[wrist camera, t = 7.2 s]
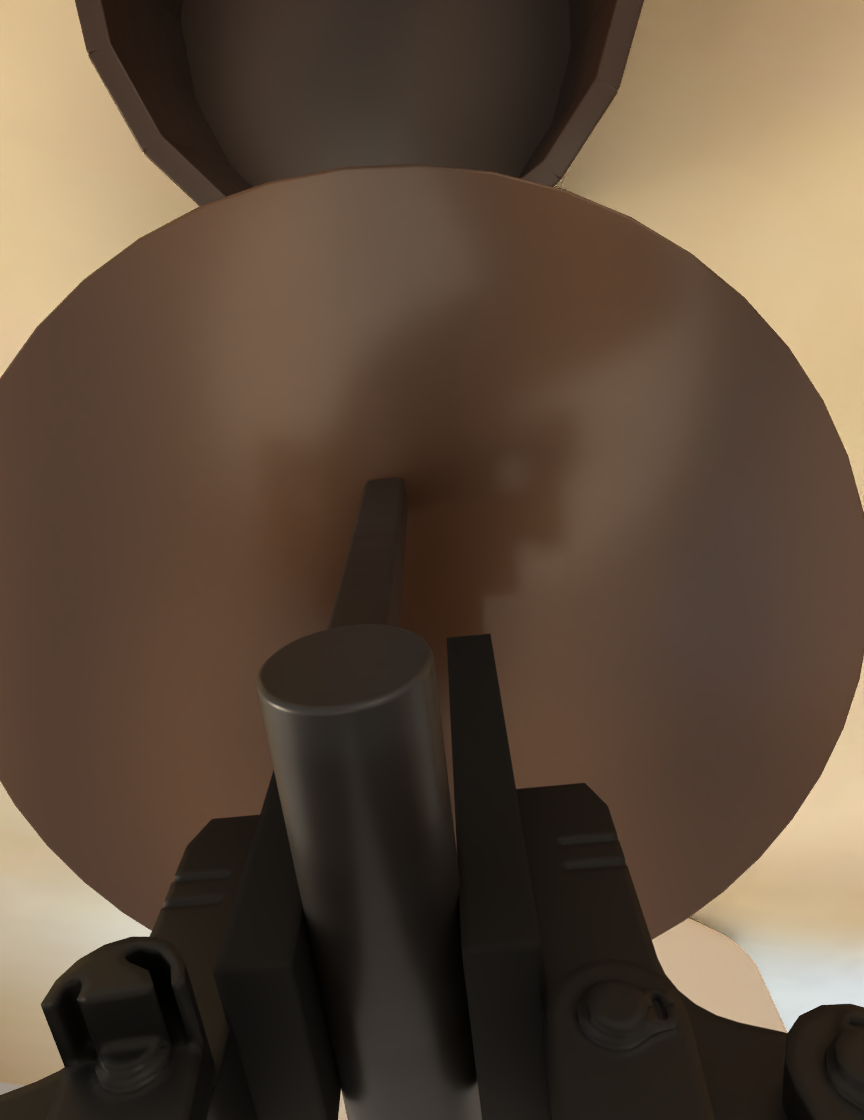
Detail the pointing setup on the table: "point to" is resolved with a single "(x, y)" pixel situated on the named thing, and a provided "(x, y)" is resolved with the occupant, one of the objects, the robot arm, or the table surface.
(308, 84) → the brown round hollow container
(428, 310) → the lid
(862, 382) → the table surface
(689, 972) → the cable organizer
